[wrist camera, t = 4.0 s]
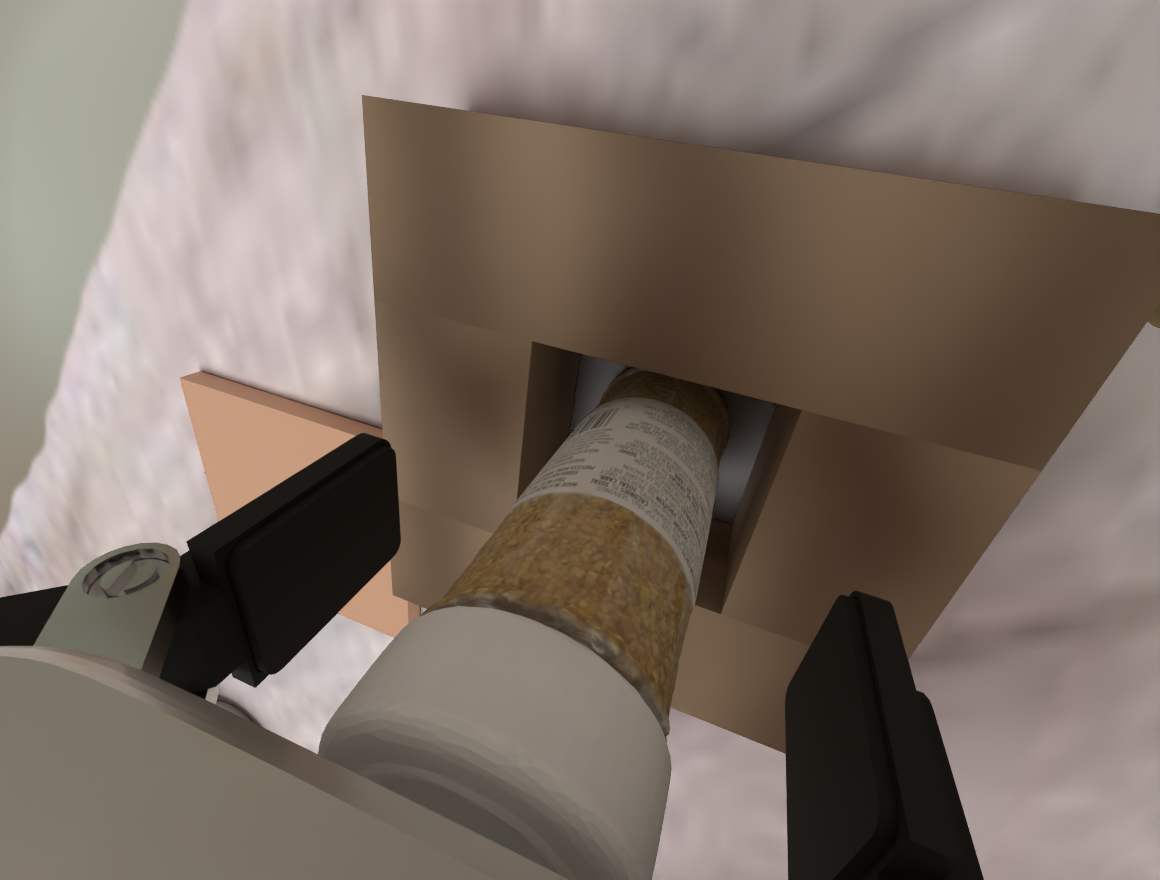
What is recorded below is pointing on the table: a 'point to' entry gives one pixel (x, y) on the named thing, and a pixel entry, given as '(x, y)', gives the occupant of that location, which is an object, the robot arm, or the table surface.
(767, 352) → the frame
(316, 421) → the terracotta tile
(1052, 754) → the table surface
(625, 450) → the sprinkles bottle
